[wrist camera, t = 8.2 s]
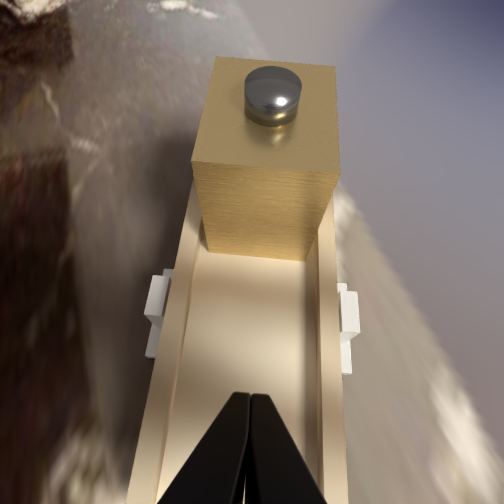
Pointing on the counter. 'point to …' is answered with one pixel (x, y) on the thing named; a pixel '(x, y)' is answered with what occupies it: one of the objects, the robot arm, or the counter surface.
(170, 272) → the fulcrum
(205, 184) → the block
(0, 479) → the counter surface
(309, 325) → the beam
